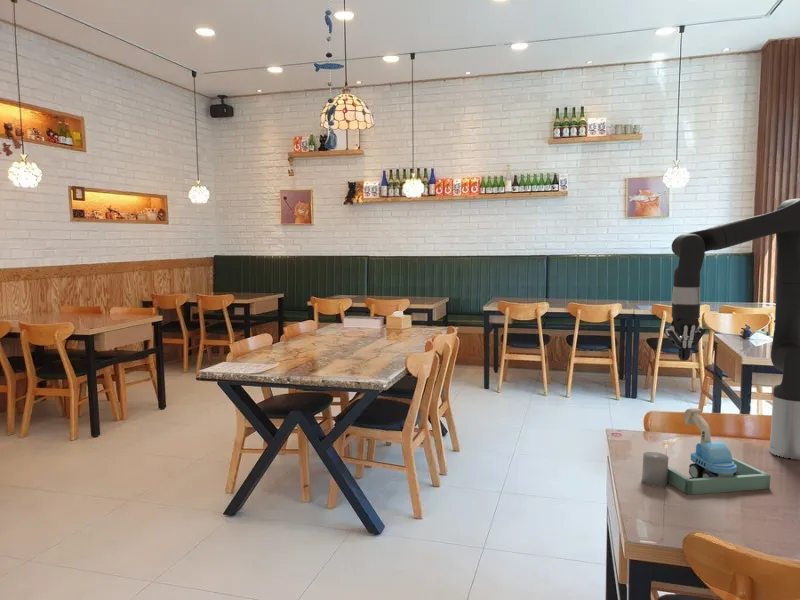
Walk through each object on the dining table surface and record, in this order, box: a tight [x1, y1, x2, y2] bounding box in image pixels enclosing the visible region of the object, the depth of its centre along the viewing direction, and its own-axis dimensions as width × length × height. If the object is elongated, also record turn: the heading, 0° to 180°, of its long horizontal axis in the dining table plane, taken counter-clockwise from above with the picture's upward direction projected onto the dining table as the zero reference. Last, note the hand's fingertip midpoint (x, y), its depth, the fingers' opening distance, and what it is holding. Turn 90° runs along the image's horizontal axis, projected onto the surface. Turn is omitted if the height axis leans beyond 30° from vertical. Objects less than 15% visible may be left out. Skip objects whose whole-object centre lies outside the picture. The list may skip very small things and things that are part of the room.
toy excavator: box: [683, 407, 740, 479], centre depth 156 cm, size 9×17×17 cm, turn 8°
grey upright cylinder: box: [641, 451, 669, 488], centre depth 153 cm, size 6×6×7 cm
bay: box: [667, 456, 771, 496], centre depth 154 cm, size 23×13×4 cm, turn 101°
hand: (683, 359), depth 176 cm, fingers closed
